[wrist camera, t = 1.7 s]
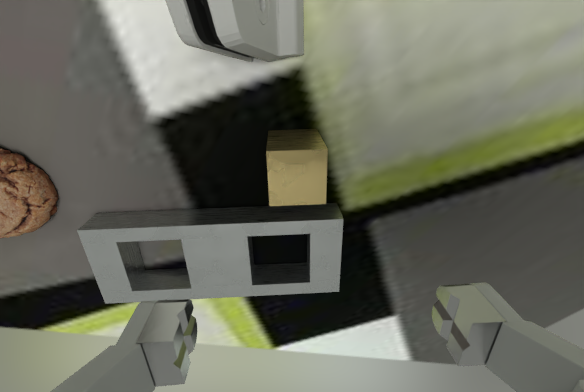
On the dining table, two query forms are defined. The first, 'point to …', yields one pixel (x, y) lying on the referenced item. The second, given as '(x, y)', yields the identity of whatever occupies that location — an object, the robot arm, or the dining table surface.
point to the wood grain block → (296, 167)
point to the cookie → (23, 195)
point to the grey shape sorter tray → (213, 252)
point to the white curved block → (241, 27)
